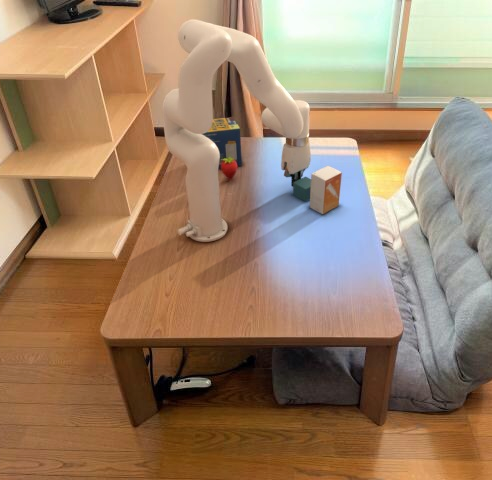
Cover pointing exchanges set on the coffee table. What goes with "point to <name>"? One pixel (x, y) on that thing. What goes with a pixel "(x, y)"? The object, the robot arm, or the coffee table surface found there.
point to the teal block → (302, 188)
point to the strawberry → (229, 167)
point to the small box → (325, 189)
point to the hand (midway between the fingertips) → (296, 186)
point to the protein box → (226, 139)
